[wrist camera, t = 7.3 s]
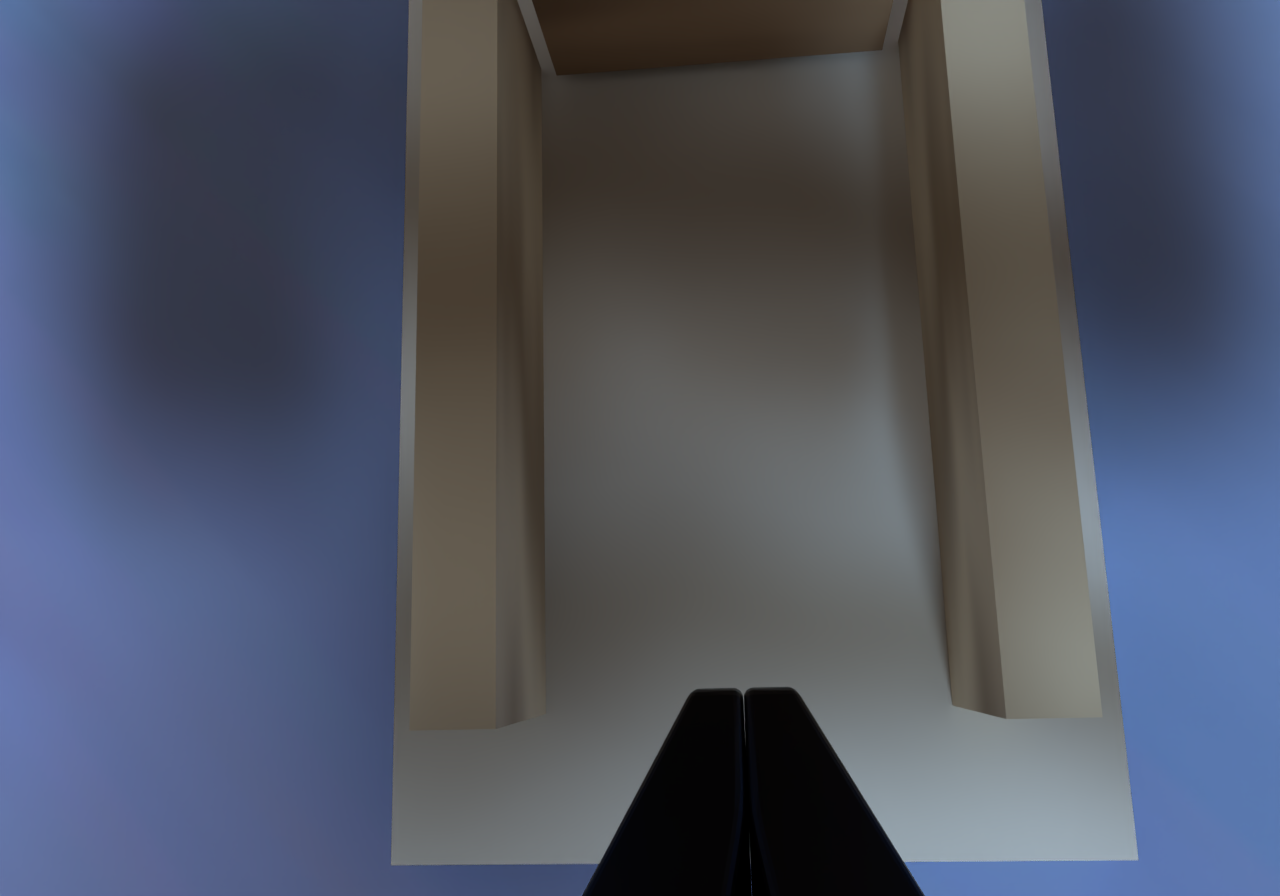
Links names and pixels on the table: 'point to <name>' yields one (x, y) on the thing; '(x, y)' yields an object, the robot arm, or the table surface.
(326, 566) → the table surface
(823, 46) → the block
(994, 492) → the chute
